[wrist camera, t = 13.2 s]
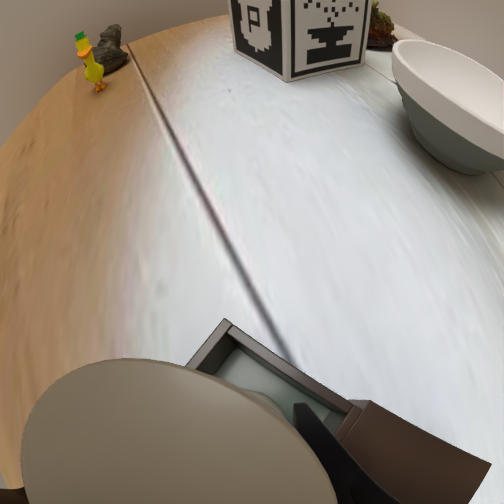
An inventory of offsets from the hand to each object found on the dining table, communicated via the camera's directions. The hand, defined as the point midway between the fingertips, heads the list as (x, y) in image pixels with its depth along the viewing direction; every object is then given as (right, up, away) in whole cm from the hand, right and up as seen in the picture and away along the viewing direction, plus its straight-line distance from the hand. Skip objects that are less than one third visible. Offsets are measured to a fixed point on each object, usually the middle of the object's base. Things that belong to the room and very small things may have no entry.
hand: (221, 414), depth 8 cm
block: (+8, +37, +30) cm, 48 cm away
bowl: (+25, +18, +19) cm, 36 cm away
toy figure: (-25, +33, +30) cm, 51 cm away
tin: (0, -4, +5) cm, 7 cm away
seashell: (-29, +41, +35) cm, 61 cm away
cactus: (+23, +49, +35) cm, 65 cm away
